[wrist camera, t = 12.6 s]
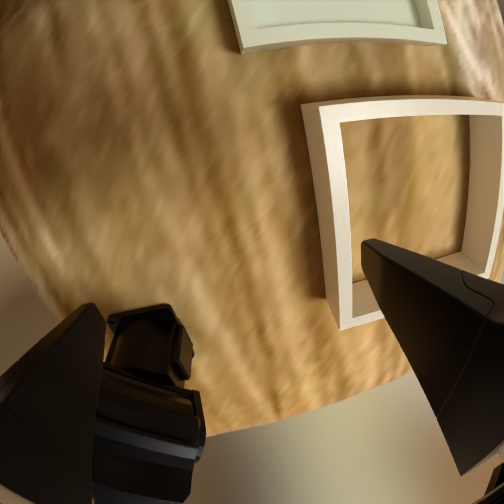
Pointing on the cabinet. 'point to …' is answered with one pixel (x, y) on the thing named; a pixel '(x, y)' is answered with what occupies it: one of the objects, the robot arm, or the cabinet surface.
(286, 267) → the cabinet surface
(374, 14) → the sage tray
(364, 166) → the cabinet surface
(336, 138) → the white square frame
